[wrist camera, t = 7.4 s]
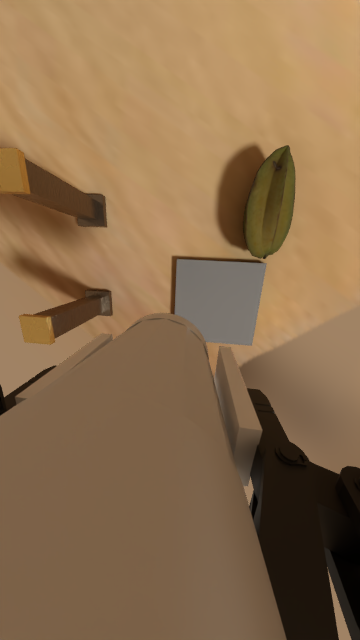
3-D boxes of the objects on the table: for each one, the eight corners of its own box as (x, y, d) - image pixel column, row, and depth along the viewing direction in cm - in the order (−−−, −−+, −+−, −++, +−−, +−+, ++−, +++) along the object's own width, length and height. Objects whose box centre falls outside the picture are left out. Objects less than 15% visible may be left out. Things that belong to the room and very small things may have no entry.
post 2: (87, 289, 39) (12, 309, 23) (111, 291, 39) (50, 312, 23) (90, 313, 41) (20, 346, 25) (112, 314, 40) (56, 349, 24)
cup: (98, 374, 15) (-237, 749, 3) (132, 280, 12) (-621, 489, 1) (190, 415, 15) (164, 884, 4) (240, 331, 13) (611, 930, 1)
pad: (177, 259, 36) (176, 259, 35) (264, 263, 35) (266, 263, 34) (174, 337, 41) (173, 339, 40) (250, 343, 39) (251, 345, 38)
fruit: (214, 214, 33) (218, 203, 27) (274, 156, 30) (294, 129, 24) (253, 265, 35) (265, 266, 29) (313, 215, 32) (341, 204, 26)
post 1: (78, 195, 34) (-27, 139, 18) (105, 196, 34) (21, 139, 18) (81, 226, 36) (-14, 198, 20) (107, 227, 35) (31, 199, 19)
